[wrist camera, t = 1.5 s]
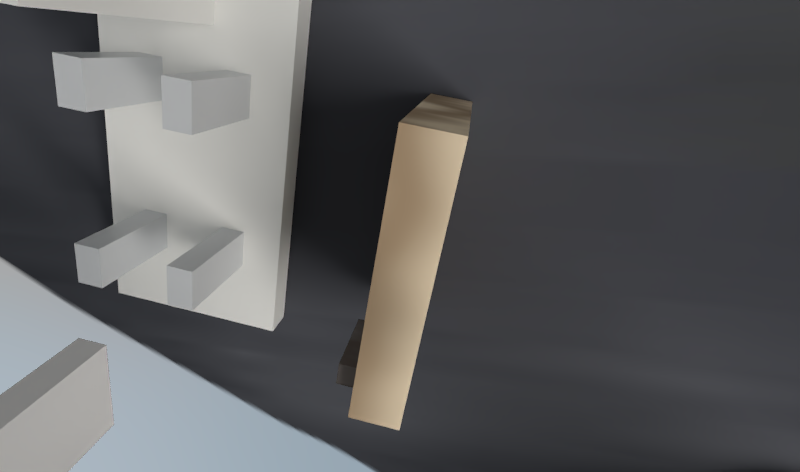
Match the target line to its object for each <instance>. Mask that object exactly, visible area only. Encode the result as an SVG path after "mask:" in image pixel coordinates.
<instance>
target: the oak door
mask: <svg viewBox="0 0 800 472" xmlns="http://www.w3.org/2000/svg"><path fill="white" fill-rule="evenodd" d="M471 109H472V102H471V101H466V100H461V99H456V98H451V97H446V96H441V95H436V94H430V95H429V96H428V97H426V98H425V99H424V100H423V101H422V102H421V103H420V104H419V105H418V106H416V107H415V108H414V109H413V110H412V111H411V112H410V113H409V114H408V115H406V116H405V117H404V118H403V119H402V120H401V121H400V122H399V125H398V131H397V137H396V143H395V148H394V154H393V160H392V166H391V172H390V177H389V183H388V189H387V195H386V201H385V206H384V212H383V218H382V224H381V230H380V235H379V241H378V247H377V253H376V259H375V264H374V270H373V276H372V282H371V288H370V293H369V299H368V305H367V311H366V317H365V321H364V320H360V319H359V320H358V322H357V325H356V327H355V329H354V331H353V334H352V336H351V338H350V340H349V343H348V345H347V347H346V349H345V352H344V354H343V356H342V358H341V361H340V363H339V368H338V374H337V381H336V383H337V384H341V385H345V386H349V387H353V392H352V398H351V404H350V409H349V415H348V417H349V418H353V419H357V420H361V421H365V422H369V423H373V424H376V425H380V426H384V427H388V428H392V429H396V430H400V426H401V421H402V417H403V413H404V409H405V404H406V400H407V396H408V391H409V387H410V383H411V379H412V374H413V370H414V366H415V362H416V357H417V353H418V349H419V345H420V340H421V336H422V332H423V327H424V323H425V319H426V315H427V310H428V306H429V302H430V298H431V293H432V289H433V285H434V280H435V276H436V272H437V268H438V263H439V259H440V255H441V251H442V246H443V242H444V238H445V234H446V229H447V225H448V221H449V216H450V212H451V208H452V204H453V199H454V195H455V191H456V187H457V182H458V178H459V174H460V169H461V165H462V161H463V157H464V152H465V148H466V144H467V140H468V134H469V126H470V118H471Z"/></svg>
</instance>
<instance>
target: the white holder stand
mask: <svg viewBox="0 0 800 472" xmlns="http://www.w3.org/2000/svg"><path fill="white" fill-rule="evenodd" d="M0 3H5V4H10V5H15V6H21V7H32V8H42V9H52V10H62V11H73V12H83V13H93V14H97V18H98V31H99V44H100V52H52V57H53V65H54V74H55V83H56V91H57V100H58V106H60V107H65V108H69V109H74V110H78V111H83V112H91V111H97V110H104V109H105V121H106V134H107V147H108V160H109V173H110V186H111V199H112V212H113V225H112V226H109V227H107V228H105V229H103V230H101V231H99V232H97V233H95V234H93V235H90V236H88V237H86V238H84V239H82V240H80V241H78V242H76V243H74V247H75V255H76V264H77V273H78V281H79V282H80V283H84V284H88V285H92V286H96V287H100V288H104V287H105V286H107V285H108V284H110V283H112V282H113V281H115V280H116V279H118V290H119V293H122V294H126V295H130V296H134V297H138V298H142V299H146V300H150V301H154V302H158V303H162V304H166V305H170V306H174V307H178V308H182V309H186V310H190V311H194V312H198V313H202V314H206V315H210V316H214V317H218V318H222V319H226V320H230V321H234V322H238V323H242V324H246V325H250V326H254V327H258V328H262V329H266V330H270V331H273V330H274V329H275V328H276V326H277V325H278V324H279V322H280V321H281V319H282V318H283V317H284V307H285V296H286V285H287V274H288V262H289V251H290V240H291V229H292V217H293V206H294V195H295V184H296V173H297V161H298V150H299V139H300V128H301V116H302V105H303V94H304V83H305V72H306V60H307V49H308V38H309V27H310V16H311V4H312V0H0Z"/></svg>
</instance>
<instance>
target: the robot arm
mask: <svg viewBox="0 0 800 472" xmlns="http://www.w3.org/2000/svg"><path fill="white" fill-rule="evenodd" d="M113 425H114V419H113V408H112V398H111V389H110V378H109V369H108V358H107V349H106V345H104V344H99V343H96V342H92V341H88V340H84V339H80V338H78V339H77V340H76V341H74V342H73V343H72V344H70V345H69V346H68V347H66V348H65V349H63V350H62V351H61V352H59V353H58V354H56V355H55V356H54V357H52V358H51V359H49V360H48V361H47V362H45V363H44V364H42V365H41V366H40V367H38V368H37V369H36V370H34V371H33V372H31V373H30V374H29V375H27V376H26V377H25V378H23V379H22V380H21V381H19V382H18V383H16V384H15V385H14V386H12V387H11V388H9V389H8V390H7V391H5V392H4V393H2V394H1V395H0V472H68V471H69V470H70V469H71V468H72V467H73V466H74V465H75V464H76V463H77V462H78V461H79V460H80V459H81V458H82V457H83V456H84V455H85V454H86V453H87V452H88V450H89V449H90V448H91V447H92V446H93V445H94V444H95V443H96V442H97V441H98V440H99V439H100V438H101V437H102V436H103V435H104V434H105V433H106V432H107V431H108V430H109V429H110V428H111V427H112V426H113Z"/></svg>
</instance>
